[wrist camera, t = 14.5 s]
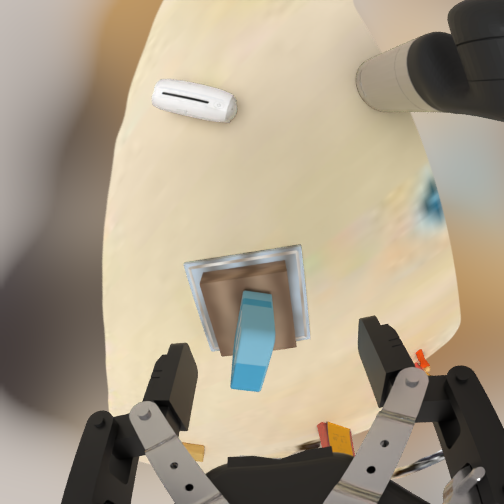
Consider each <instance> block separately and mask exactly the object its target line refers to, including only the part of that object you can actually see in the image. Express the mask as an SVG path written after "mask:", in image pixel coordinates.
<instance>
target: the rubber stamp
mask: <svg viewBox="0 0 504 504" xmlns="http://www.w3.org/2000/svg"><path fill="white" fill-rule="evenodd" d="M183 445H184V446H185V448H186V449H187V450H188V452H189V453H190V455H191V456H192V457H193V459H194V460H195V461H200V462H203V458H204V446H203V445H195V444H188V443H183Z"/></svg>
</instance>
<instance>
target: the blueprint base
mask: <svg viewBox="0 0 504 504" xmlns="http://www.w3.org/2000/svg"><path fill="white" fill-rule="evenodd" d="M184 268H185V271H186V275H187V278H188V281H189V284H190V288H191V291H192V294H193V297H194V301H195V304H196V307H197V310H198V313H199V316H200V319H201V322H202V325H203V328H204V331H205V334H206V337H207V340H208V343H209V346H210V349H211V351H220V353H221V356H232V355H233V348H234V340H235V334H236V328H237V323H238V317H239V311H240V306H241V300H242V295H243V291H252V292H259V293H266V294H271V295H272V301H273V312H274V323H275V343H274V348H273V350H281V349H287V348H294V347H297V346H296V341H299V340H305V339H310V330H309V318H308V307H307V297H306V286H305V277H304V267H303V258H302V250H301V245H294V246H288V247H281V248H275V249H268V250H262V251H256V252H249V253H243V254H236V255H230V256H224V257H217V258H211V259H204V260H198V261H192V262H185V263H184Z"/></svg>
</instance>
